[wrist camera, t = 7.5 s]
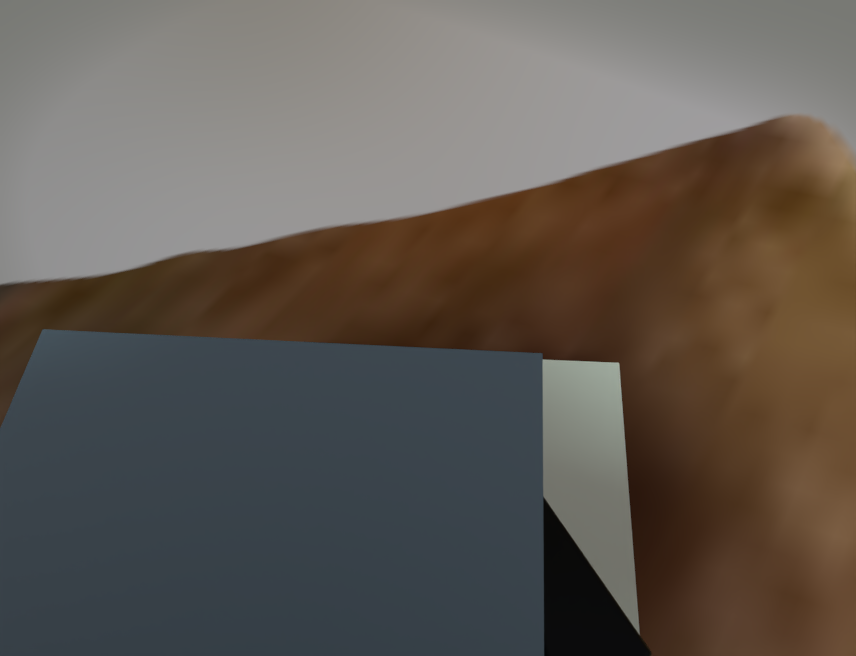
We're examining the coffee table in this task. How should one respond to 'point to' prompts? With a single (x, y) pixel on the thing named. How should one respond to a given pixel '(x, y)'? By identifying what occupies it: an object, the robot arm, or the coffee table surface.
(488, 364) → the peg
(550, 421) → the socket block
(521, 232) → the coffee table surface
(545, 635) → the robot arm
